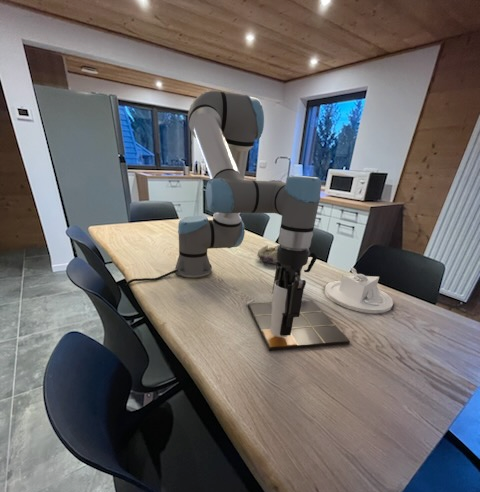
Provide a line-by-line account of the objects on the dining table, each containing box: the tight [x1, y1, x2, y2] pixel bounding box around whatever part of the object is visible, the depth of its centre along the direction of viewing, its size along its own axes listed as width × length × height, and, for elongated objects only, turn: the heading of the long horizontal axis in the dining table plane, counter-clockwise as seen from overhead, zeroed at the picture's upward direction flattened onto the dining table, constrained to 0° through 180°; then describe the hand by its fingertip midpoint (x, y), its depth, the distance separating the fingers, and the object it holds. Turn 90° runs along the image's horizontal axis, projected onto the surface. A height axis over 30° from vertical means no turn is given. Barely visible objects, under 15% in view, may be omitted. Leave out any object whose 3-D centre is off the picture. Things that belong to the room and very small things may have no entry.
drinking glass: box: [271, 280, 288, 337], centre depth 70 cm, size 7×7×15 cm
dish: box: [324, 266, 394, 314], centre depth 101 cm, size 25×25×11 cm
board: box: [247, 300, 351, 352], centre depth 83 cm, size 24×24×1 cm
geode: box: [256, 244, 280, 265], centre depth 133 cm, size 17×9×15 cm
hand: (280, 327), depth 73 cm, fingers closed on drinking glass, 6 cm apart
